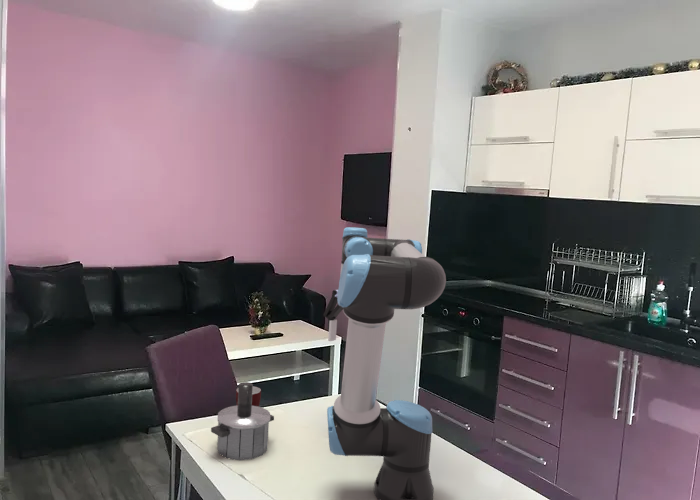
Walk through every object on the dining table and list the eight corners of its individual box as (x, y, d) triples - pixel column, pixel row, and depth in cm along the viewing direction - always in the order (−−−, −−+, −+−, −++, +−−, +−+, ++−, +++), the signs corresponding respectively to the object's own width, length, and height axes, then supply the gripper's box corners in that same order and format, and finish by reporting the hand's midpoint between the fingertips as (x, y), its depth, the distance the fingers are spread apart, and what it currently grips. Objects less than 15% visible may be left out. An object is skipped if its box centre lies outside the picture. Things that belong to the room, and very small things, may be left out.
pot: (282, 447, 169) (284, 418, 168) (230, 467, 155) (232, 435, 154) (252, 432, 178) (253, 404, 177) (200, 449, 164) (202, 419, 163)
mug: (250, 429, 180) (251, 398, 179) (226, 425, 182) (228, 394, 181) (263, 417, 190) (265, 388, 189) (241, 413, 192) (242, 384, 191)
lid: (280, 425, 166) (282, 386, 165) (239, 439, 155) (241, 397, 154) (248, 409, 176) (249, 372, 175) (206, 422, 165) (208, 383, 164)
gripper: (392, 283, 171) (386, 352, 173) (331, 271, 187) (327, 334, 189) (376, 285, 165) (371, 356, 167) (315, 272, 181) (311, 338, 184)
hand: (347, 345), depth 178 cm, fingers open, 13 cm apart
